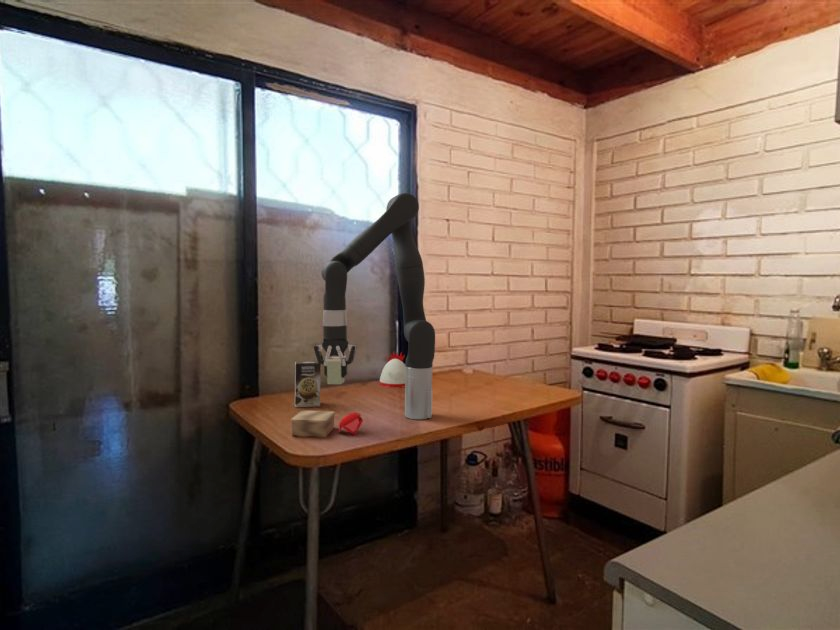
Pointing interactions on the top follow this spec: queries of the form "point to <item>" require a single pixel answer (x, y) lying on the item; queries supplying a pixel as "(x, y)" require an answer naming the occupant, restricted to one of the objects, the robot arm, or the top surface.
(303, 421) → the beige flat block
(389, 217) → the robot arm
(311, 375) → the coffee box
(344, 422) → the cap
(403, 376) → the kitchen timer
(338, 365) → the tea tin
